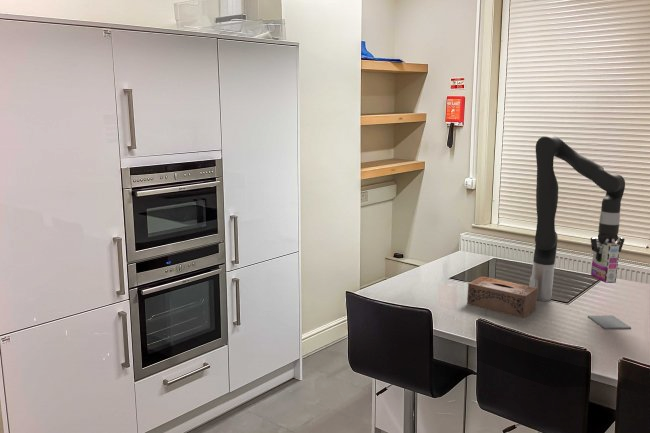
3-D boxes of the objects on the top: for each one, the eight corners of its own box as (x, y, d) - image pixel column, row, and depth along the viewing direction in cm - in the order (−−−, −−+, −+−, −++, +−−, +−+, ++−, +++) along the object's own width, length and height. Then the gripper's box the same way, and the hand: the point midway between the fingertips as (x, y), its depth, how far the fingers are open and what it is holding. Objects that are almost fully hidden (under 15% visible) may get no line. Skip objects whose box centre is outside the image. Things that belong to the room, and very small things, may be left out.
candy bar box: (616, 283, 231) (620, 245, 228) (605, 283, 230) (609, 245, 227) (601, 275, 242) (604, 238, 239) (590, 275, 241) (593, 239, 238)
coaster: (604, 328, 223) (604, 327, 223) (587, 316, 235) (587, 315, 235) (630, 328, 223) (631, 327, 223) (612, 316, 236) (613, 315, 236)
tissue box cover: (467, 304, 249) (468, 283, 247) (480, 296, 260) (481, 276, 258) (523, 318, 233) (525, 296, 231) (535, 309, 244) (537, 287, 242)
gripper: (597, 224, 227) (593, 264, 230) (631, 223, 228) (626, 263, 231) (588, 220, 235) (584, 259, 238) (620, 220, 235) (616, 258, 239)
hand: (605, 261), depth 235 cm, fingers closed on candy bar box, 5 cm apart
